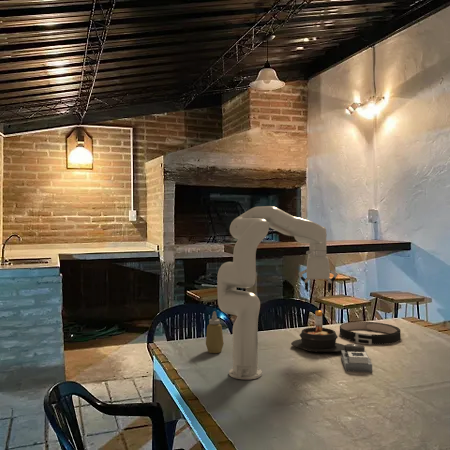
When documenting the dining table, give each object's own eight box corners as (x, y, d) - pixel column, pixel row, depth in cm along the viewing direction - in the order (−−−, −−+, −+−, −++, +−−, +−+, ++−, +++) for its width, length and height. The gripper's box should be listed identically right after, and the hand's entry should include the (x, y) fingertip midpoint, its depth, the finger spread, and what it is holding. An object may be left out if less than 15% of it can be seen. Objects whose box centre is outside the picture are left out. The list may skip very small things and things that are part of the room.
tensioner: (372, 372, 177) (372, 355, 177) (345, 371, 178) (345, 354, 178) (365, 358, 194) (365, 342, 194) (341, 357, 196) (341, 341, 196)
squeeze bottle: (224, 349, 209) (224, 310, 209) (222, 354, 201) (222, 313, 201) (207, 349, 210) (206, 309, 210) (204, 354, 202) (204, 313, 202)
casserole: (284, 351, 206) (284, 332, 206) (299, 341, 223) (299, 323, 222) (340, 359, 194) (340, 339, 194) (351, 348, 210) (351, 329, 210)
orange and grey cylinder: (322, 331, 207) (322, 311, 206) (315, 331, 207) (315, 311, 207) (322, 330, 210) (322, 310, 209) (315, 330, 210) (315, 310, 210)
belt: (332, 340, 224) (332, 330, 223) (346, 327, 250) (346, 318, 250) (396, 348, 210) (396, 337, 210) (404, 333, 236) (403, 323, 236)
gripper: (298, 254, 205) (298, 292, 206) (338, 254, 203) (338, 293, 203) (298, 253, 213) (298, 290, 213) (336, 253, 210) (336, 290, 210)
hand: (318, 291), depth 208 cm, fingers open, 9 cm apart
